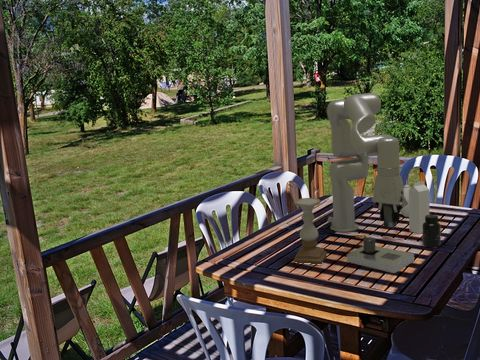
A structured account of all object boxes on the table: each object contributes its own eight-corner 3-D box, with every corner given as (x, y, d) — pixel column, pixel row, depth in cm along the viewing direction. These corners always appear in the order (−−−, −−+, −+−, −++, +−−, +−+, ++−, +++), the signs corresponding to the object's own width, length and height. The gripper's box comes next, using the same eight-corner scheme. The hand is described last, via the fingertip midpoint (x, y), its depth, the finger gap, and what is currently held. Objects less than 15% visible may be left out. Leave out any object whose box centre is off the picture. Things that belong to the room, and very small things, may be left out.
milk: (409, 231, 229) (408, 182, 225) (419, 228, 232) (418, 179, 227) (419, 234, 224) (418, 184, 219) (430, 231, 226) (429, 181, 222)
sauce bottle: (398, 218, 248) (397, 181, 244) (399, 214, 255) (398, 178, 251) (415, 219, 245) (415, 181, 241) (416, 214, 252) (416, 178, 248)
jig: (347, 261, 200) (346, 241, 198) (367, 251, 209) (366, 232, 208) (394, 273, 186) (393, 252, 184) (413, 261, 195) (413, 240, 193)
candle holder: (321, 265, 198) (318, 204, 193) (293, 264, 202) (289, 204, 197) (327, 255, 208) (324, 197, 203) (300, 254, 212) (296, 197, 207)
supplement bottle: (442, 247, 206) (441, 218, 204) (423, 247, 208) (423, 218, 206) (439, 241, 213) (439, 213, 211) (421, 242, 215) (421, 213, 212)
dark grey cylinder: (381, 226, 191) (380, 205, 190) (387, 223, 194) (387, 202, 193) (392, 228, 188) (391, 206, 186) (398, 224, 191) (398, 203, 189)
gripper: (362, 172, 191) (364, 220, 194) (404, 175, 179) (405, 227, 182) (373, 168, 196) (375, 215, 199) (415, 171, 184) (416, 221, 187)
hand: (389, 220), depth 191 cm, fingers closed on dark grey cylinder, 4 cm apart
